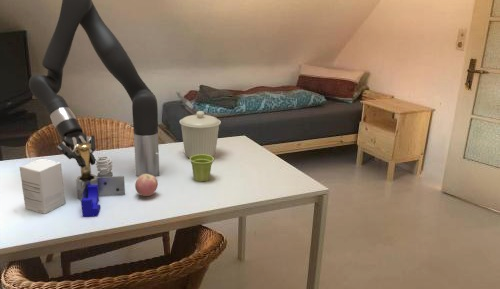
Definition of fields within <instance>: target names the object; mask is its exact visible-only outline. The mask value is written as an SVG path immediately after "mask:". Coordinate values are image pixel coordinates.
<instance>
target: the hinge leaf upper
mask: <svg viewBox="0 0 500 289" xmlns="http://www.w3.org/2000/svg"><path fill="white" fill-rule="evenodd" d="M85 181H86V182H87V189H88V185H98V194H99V197H107V196H108V197H110V196H125V195H126V185H125V176H124V175H115V176H110V177H98V176H97V174H94V173H91V178H90V179H82V178H81V175H79V176H77V177H76V179H75V182H76V191H77V190H80V191H81V190H82V187H83V184H84V182H85Z"/></svg>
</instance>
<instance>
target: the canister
mask: <svg viewBox="0 0 500 289" xmlns="http://www.w3.org/2000/svg"><path fill="white" fill-rule="evenodd" d="M221 122H222V121H221V120H220V119H218V118H217V117H216V116H213V115H209V114H205V112H204V111H202V110H198V111H196V113H195V114H193V115H187V116H185V117H183V118H181V119H179V124H180V128H181V135H182V142H183V150H184V154H185V155H186V157H187V158H189V159H190V157H191V156H194V155H199V154H204V155H210V156H212V157H213V158H214V156H215V153H216V150H217V145H218V139H219V138H218V136H219V130H220V129H219V126H220V125H221Z"/></svg>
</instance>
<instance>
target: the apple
mask: <svg viewBox="0 0 500 289" xmlns="http://www.w3.org/2000/svg"><path fill="white" fill-rule="evenodd" d="M158 186H159V182H158V179H157V176H153V175H150V174H142V175H140V176H137V178H136V180H135V183H134V188H135V190H136V192H137V194H139V195H141V196H144V197H150V196H152V195H153V194H154V193H155V192H156V191H157V189H158Z"/></svg>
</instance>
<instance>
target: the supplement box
mask: <svg viewBox="0 0 500 289" xmlns="http://www.w3.org/2000/svg"><path fill="white" fill-rule="evenodd" d="M19 172H20V173H19V174H20V181H21V187H22V188H21V189H22V194H23V202H24V209H26V210H29V211H33V212H37V213H41V214H44V215H46V214H48V213H50V212H51V211H53V210H55V209H57V208H59V207H61V206H63V205H65V204H66V195H65V185H64V178H63V170H62V163H61V162H59V161H54V160H49V159H46V158H39V159H37V160H34V161H31V162H28V163H26V164H23V165H20V166H19Z"/></svg>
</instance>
